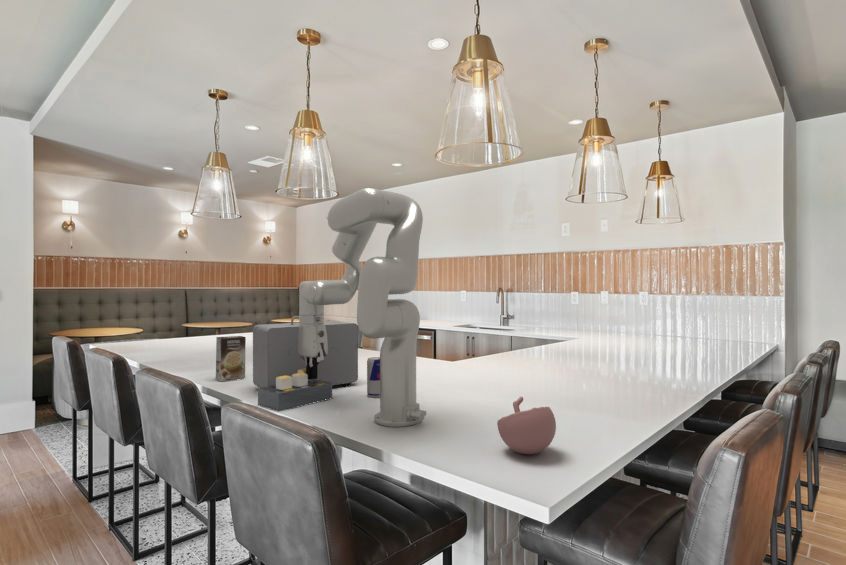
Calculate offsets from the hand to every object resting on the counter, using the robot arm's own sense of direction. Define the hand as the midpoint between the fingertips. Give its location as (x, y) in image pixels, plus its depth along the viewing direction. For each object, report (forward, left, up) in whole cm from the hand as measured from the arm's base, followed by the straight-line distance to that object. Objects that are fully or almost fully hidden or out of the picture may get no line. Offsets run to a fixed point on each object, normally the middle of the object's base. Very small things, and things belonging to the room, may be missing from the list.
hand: (311, 378), depth 146 cm
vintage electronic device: (+16, -9, -7) cm, 19 cm away
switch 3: (-2, +6, -1) cm, 6 cm away
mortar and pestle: (-74, 0, -6) cm, 74 cm away
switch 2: (+3, 0, -1) cm, 4 cm away
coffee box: (+49, +1, -6) cm, 49 cm away
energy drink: (-13, -15, -6) cm, 21 cm away
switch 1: (-2, +11, -1) cm, 11 cm away
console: (0, +6, -6) cm, 8 cm away
